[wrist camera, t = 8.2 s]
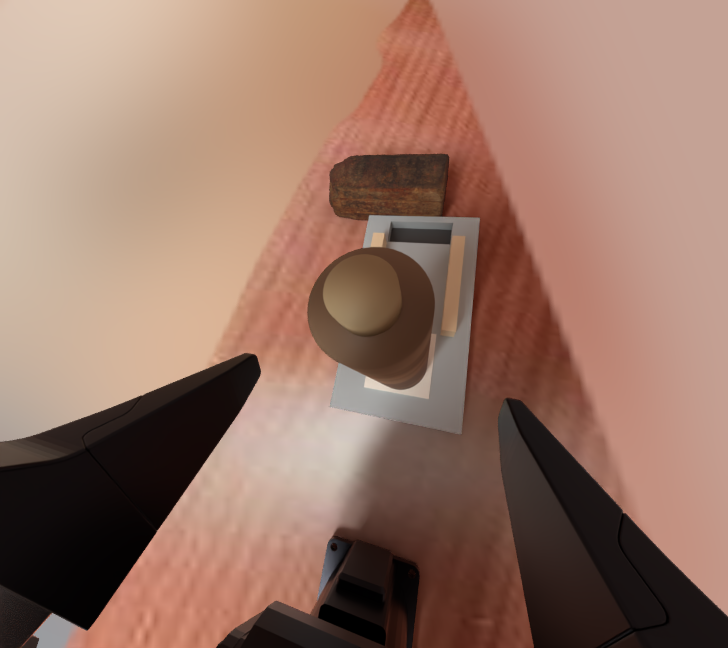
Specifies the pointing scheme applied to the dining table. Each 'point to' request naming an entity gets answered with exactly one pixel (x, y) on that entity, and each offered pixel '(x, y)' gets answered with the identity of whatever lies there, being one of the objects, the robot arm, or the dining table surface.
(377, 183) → the brick
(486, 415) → the dining table surface
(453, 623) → the dining table surface
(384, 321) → the pepper mill
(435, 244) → the board
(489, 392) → the dining table surface
